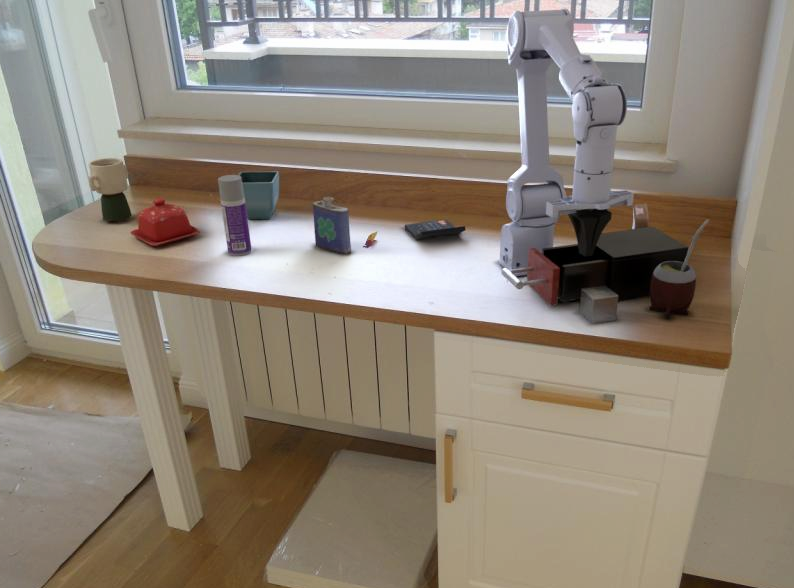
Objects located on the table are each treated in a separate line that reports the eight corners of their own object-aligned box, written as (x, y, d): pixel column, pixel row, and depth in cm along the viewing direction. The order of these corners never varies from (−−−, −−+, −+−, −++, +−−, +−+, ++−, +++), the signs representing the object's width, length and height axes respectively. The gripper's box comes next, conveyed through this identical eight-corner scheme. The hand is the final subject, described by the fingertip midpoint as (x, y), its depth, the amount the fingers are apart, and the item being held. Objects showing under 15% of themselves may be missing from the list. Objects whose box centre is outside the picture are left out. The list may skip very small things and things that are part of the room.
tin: (647, 266, 151) (653, 223, 147) (630, 265, 151) (635, 222, 147) (644, 238, 164) (649, 198, 159) (628, 237, 164) (633, 197, 160)
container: (256, 249, 163) (246, 176, 155) (242, 257, 159) (232, 182, 152) (237, 246, 165) (227, 173, 157) (223, 254, 161) (212, 180, 153)
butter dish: (152, 251, 163) (144, 210, 159) (128, 237, 171) (120, 198, 166) (203, 237, 170) (197, 198, 165) (178, 224, 177) (171, 186, 173)
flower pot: (277, 222, 177) (272, 182, 173) (237, 223, 177) (232, 182, 173) (283, 209, 185) (279, 170, 180) (245, 210, 185) (240, 171, 180)
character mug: (123, 210, 187) (111, 154, 180) (147, 214, 184) (135, 157, 177) (88, 225, 178) (74, 166, 172) (112, 229, 175) (98, 170, 169)
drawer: (519, 310, 133) (521, 273, 130) (496, 288, 142) (497, 252, 138) (621, 295, 138) (625, 258, 135) (594, 273, 146) (597, 239, 143)
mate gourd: (644, 317, 132) (656, 230, 124) (650, 298, 138) (661, 214, 131) (691, 323, 130) (706, 235, 122) (695, 304, 136) (710, 218, 128)
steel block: (591, 324, 130) (594, 299, 128) (579, 313, 134) (581, 288, 132) (615, 320, 131) (618, 295, 129) (602, 309, 135) (605, 285, 133)
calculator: (445, 223, 174) (445, 209, 173) (465, 240, 165) (465, 226, 163) (404, 228, 172) (404, 215, 170) (422, 246, 162) (422, 232, 161)
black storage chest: (608, 302, 137) (613, 257, 133) (578, 278, 146) (582, 235, 142) (681, 291, 141) (688, 247, 136) (647, 268, 150) (653, 226, 146)
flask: (354, 251, 160) (350, 199, 155) (343, 256, 159) (339, 203, 153) (321, 242, 166) (317, 191, 160) (311, 246, 164) (306, 195, 158)
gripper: (565, 182, 116) (559, 269, 123) (649, 170, 121) (638, 255, 128) (541, 170, 122) (536, 254, 129) (622, 159, 127) (613, 241, 133)
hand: (585, 254), depth 129 cm, fingers closed
